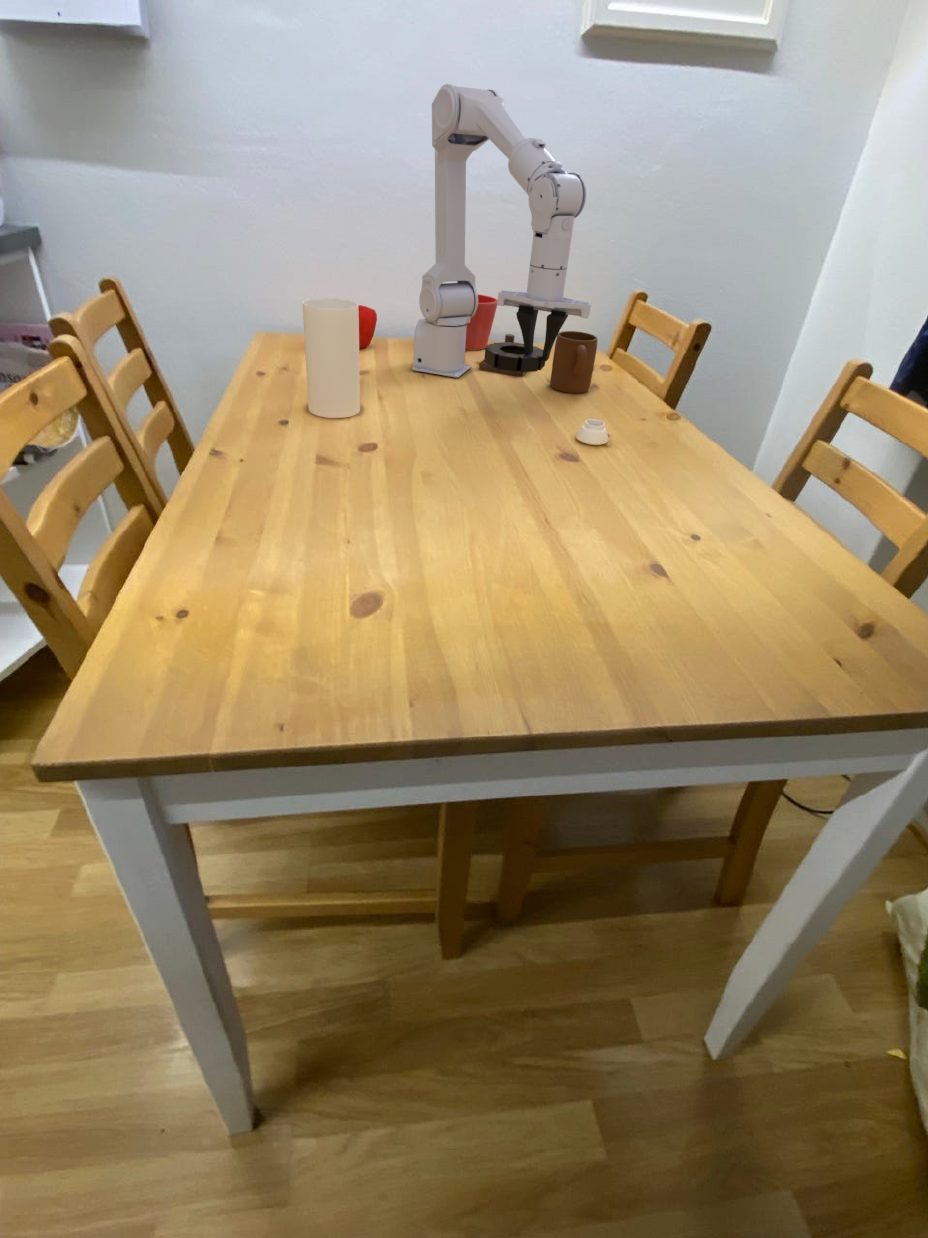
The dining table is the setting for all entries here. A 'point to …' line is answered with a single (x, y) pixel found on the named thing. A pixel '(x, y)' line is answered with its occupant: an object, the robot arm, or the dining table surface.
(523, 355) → the ring
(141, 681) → the dining table surface
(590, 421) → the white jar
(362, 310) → the apple
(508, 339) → the post
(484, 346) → the flower pot
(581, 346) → the mug
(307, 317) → the cup
